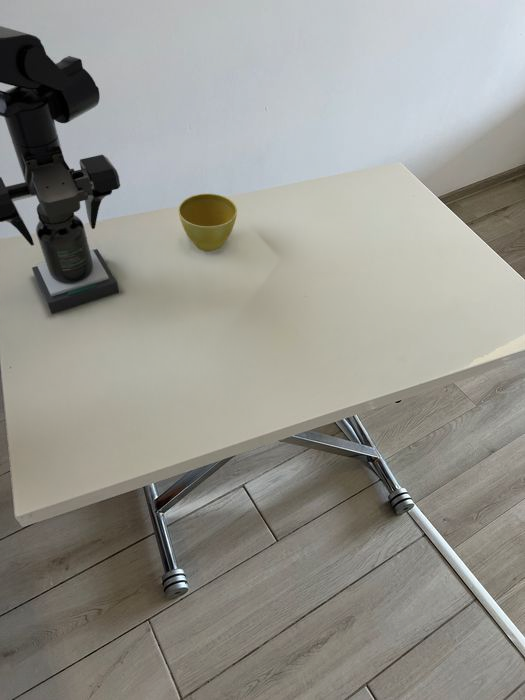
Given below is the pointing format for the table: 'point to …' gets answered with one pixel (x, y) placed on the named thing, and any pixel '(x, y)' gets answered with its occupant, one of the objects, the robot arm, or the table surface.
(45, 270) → the kitchen scale
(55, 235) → the supplement bottle
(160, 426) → the table surface
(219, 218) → the flower pot
